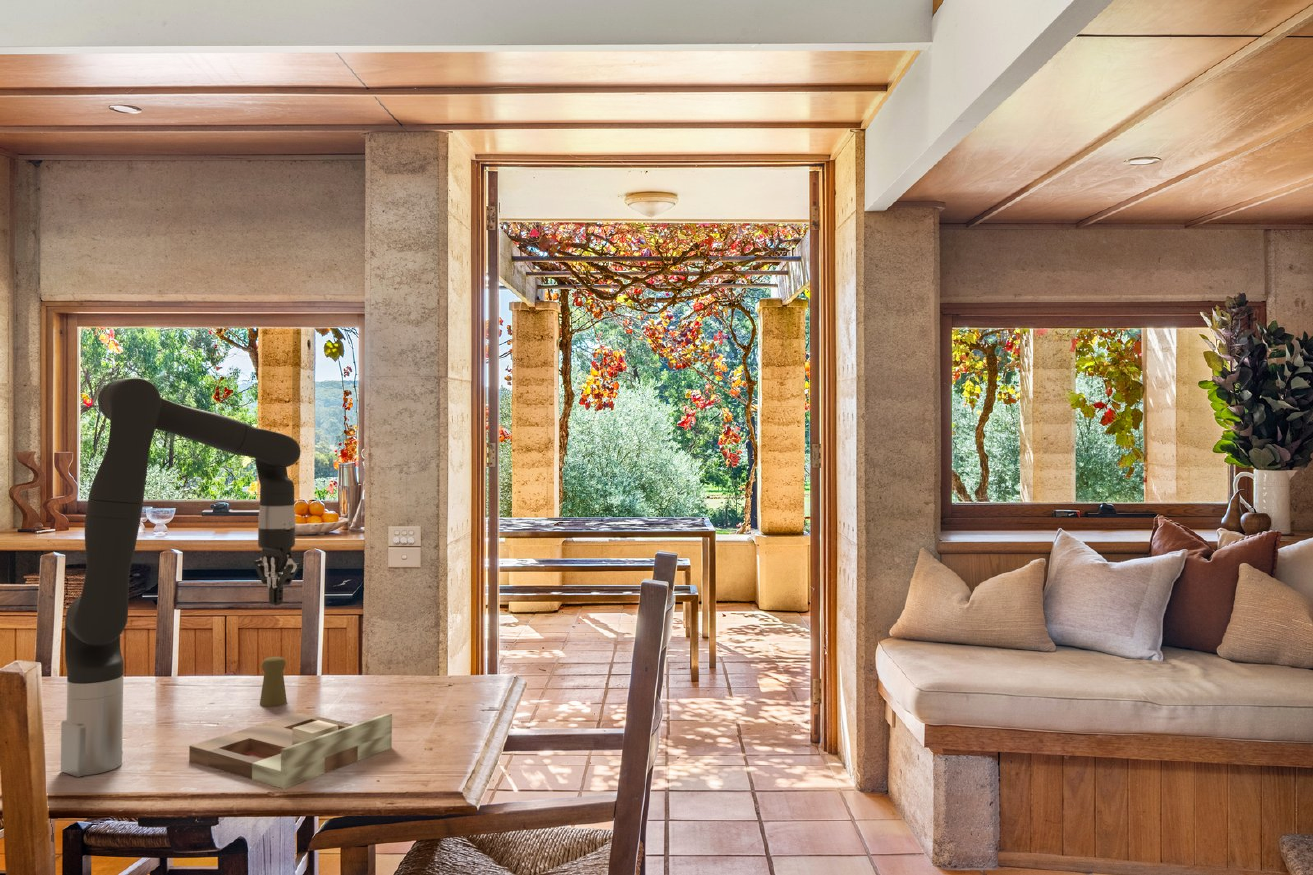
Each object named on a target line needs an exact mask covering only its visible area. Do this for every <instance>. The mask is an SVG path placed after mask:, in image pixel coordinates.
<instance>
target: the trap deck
mask: <svg viewBox="0 0 1313 875" xmlns="http://www.w3.org/2000/svg"><path fill="white" fill-rule="evenodd" d="M317 720H320V721H324V722H328V723H331V724H335V725H338V730H336V731H334V732H331V733H328V734H325V735H322V736H319V737H316V738H313V739H310V740H307V741H304V742H301V743H298V744H295V745H292V728H294V727H297V726H300V725H304V724H307V723H311V722H314V721H317ZM392 735H393V713H389V712H388V713H385V714H381V715H378V716H376V717H371V718H370V719H367V720H364V721H360V722H358V723H355V724H353V723H348V722H344V721H339V720H335V719H332V718H331V719H330V718H327V717H326V718H325V717H322V716H318V715H314V714H309V713H305V712H296V713H293V714H290V715H287V716H283V717H280V718H277V719H274V720H270V721H267V722H264V723H263V722H262V723H261V724H258V725H254V726H250V727H248V728H244V729H240V730H238V731H234V732H230V733H226V734H224V735H220V736H217V737H214V738H211V739H207V740H204V741H201V742H197V743H194V744H191V745H189V750H188V752H189V755H188V756H189V757H188V759H189V761H188V762H191V763H195V764H199V765H202V766H205V767H208V768H213V769H215V770H218V769H219V771H221V772H225V773H228V774H233V775H235V776H240V777H242V778H246V779H249V780H251V781H252V780H253V781H256V782H259V783H263V784H267V785H270V786H273V787H277V788H280V789H283V790H285V789H288V788H290V787H294V786H296V785H298V784H300V783H303V782H307V781H309V780H311V779H314V778H316V777H319V776H321V775H324V774H327V773H330V772H333V771H335V770H338V769H340V768H342V767H345V766H347V765H351V764H353V763H356V762H358V761H360V760H361V761H362V760H363V759H367V758H368V757H371V756H373V755H376V754H379V753H383V752H385V751H386V750H389V749H391V748H392V744H393V741H392V740H393V739H392V738H393V737H392Z"/></svg>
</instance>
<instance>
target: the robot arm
mask: <svg viewBox="0 0 1313 875" xmlns="http://www.w3.org/2000/svg"><path fill="white" fill-rule="evenodd" d="M97 405H98V408H99V411H100V412H101V413H102V414H101V415H103V416H104V417H105V418H106V419H107V420H109V421H110V425H109V434H108V436H109V437H108V443H107V447H106V451H105V454H104V456H103V458H102V461H101V463H100V465H99V466H98V469H97V471H96V474H95V475H94V478H93V479H92V484H91V486H90V490H89V493H88V497H87V498H88V499H87V506H86V510H85V511H86V512H85V517H84V547H85V562H86V563H85V564H86V568H85V576H84V580H83V585H82V590H81V595H80V596H78V597H77V598H76V599H74V600H72V602H71V603H70V604H69V606H68V608H67V610H66V614H65V620H64V659H65V660H64V661H65V667H66V719H65V720H62V721H61V725H60V726H61V727H60V772H61V773H64V774H68V775H71V776H74V777H75V778H76V777H77V778H80V777H82V776H83V777H84V776H89V775H97V774H102V773H105V772H108V771H111V770H114V769H116V768H119V767H121V765H122V764H123V753H124V752H123V733H124V732H123V729H124V727H123V726H124V725H123V723H124V722H123V721H124V718H123V717H124V665H125V664H124V659H123V656H122V655H123V654H122V651H121V650H122V649H121V635H122V633H123V632H124V631H125V629H126V627H127V624H128V619H129V588H130V573H131V567H132V563H133V558H134V555H135V551H136V546H137V542H138V541H137V540H138V534H139V529H140V526H141V519H142V514H143V513H142V512H143V506H144V500H145V498H144V496H145V488H146V482H147V475H148V467H149V466H148V463H149V457H150V456H149V455H150V450H151V445H152V441H153V437H154V434H155V430H159V431H161V432H165V433H170V434H173V435H176V436H179V437H182V438H185V439H188V440H190V441H191V440H192V441H193V442H197V443H200V444H202V445H205V446H208V447H211V448H214V449H217V450H220V451H223V452H226V453H229V454H233V455H235V456H236V455H237V456H240V457H241V456H243V457H250V458H253V459H255V460H254V461H255V468H256V474H257V478H258V482H259V485H260V486H259V487H260V490H259V511H258V522H257V523H258V524H257V525H258V529H257V530H258V532H257V534H258V535H257V536H258V538H257V547H258V548H260V549H261V553H260V558H259V559H258V560H253V566H254V568H255V571H256V573H257V575H258V577H259V579H260V581H261V583H262V584H263V585H266V586H267V588H268V601H269V605H271V606H279V605H282V603H283V602H284V587H285V586H289V585H291V583H292V582H293V579H294V578H295V576H296V575H297V573H298V571H299V570H300V567H301V565H300V563H299V562H297V563H295V562H294V560H293V553H292V548H293V547H295V546H296V511H295V484H294V482H293V480H292V479H290V478H289V477H288V469H287V468H288V467H291V466H293V465H294V464H296V463H297V462H298V461H299V459H300V457H301V454H302V453H301V447H300V445H299V443H298V442H297V441H296V440H295V439H294V438H293V437H291V436H289V435H287V434H283V433H280V432H276V431H273V430H269V429H264V428H259V427H257V426H254V425H250V424H249V423H246V422H243V421H241V420H238V419H235V418H232V417H229V416H225V415H222V414H219V413H216V412H211V411H207V410H202V409H198V408H195V407H191V406H187V405H183V404H180V403H177V402H173V401H171V400H169V399H166V398H163V397H161V394H160V391H159V389H158V388H157V387H156V386H155V385H154V383H153V382H151V381H150V380H147V379H146V378H142V377H141V378H140V377H128V378H119V379H116V380H113V381H110V382H108V383H107V384H105V385H104V386H103V387H102V388H101V389H100V391H99V393H98V396H97Z"/></svg>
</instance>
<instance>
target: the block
mask: <svg viewBox="0 0 1313 875" xmlns="http://www.w3.org/2000/svg"><path fill="white" fill-rule="evenodd" d="M336 730H338V725H335V724H331V723H328V722H324V721H320V720H317V721H314V722H311V723H307V724H304V725H300V726H297V727H294V728H292V745H295V744H298V743H301V742H304V741H307V740H310V739H313V738H316V737H319V736H322V735H325V734H328V733H331V732H334V731H336Z"/></svg>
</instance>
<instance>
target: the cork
mask: <svg viewBox="0 0 1313 875" xmlns="http://www.w3.org/2000/svg"><path fill="white" fill-rule="evenodd" d="M261 668H262V670H263V672H264V673H263V680H262V687H261V693H260V698H259V706H260V707H264V708H272V707H280V706H284V705H286V704H287V703H288V702H287V701H288V698H287V695H286V694H287V693H286V684H285V676H284V670H285V668H286V660H285V658H284V657H281V656H271V657H266V658H265V659H264V660H263V661H262V663H261Z"/></svg>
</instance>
